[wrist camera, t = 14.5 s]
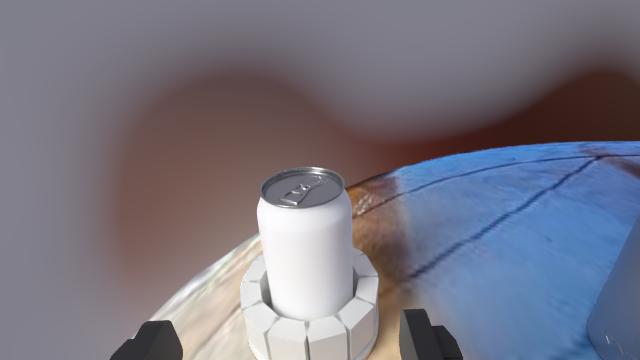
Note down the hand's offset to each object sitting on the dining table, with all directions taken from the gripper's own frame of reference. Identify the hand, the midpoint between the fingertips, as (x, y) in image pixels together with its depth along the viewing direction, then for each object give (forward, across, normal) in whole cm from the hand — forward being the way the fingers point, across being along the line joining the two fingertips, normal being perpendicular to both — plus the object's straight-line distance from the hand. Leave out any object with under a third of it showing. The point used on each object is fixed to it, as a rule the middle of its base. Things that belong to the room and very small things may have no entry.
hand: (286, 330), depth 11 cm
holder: (+11, 0, +13) cm, 17 cm away
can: (+10, 0, +12) cm, 16 cm away
